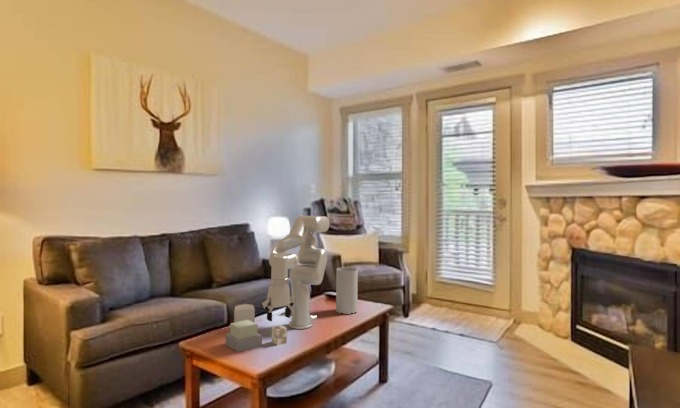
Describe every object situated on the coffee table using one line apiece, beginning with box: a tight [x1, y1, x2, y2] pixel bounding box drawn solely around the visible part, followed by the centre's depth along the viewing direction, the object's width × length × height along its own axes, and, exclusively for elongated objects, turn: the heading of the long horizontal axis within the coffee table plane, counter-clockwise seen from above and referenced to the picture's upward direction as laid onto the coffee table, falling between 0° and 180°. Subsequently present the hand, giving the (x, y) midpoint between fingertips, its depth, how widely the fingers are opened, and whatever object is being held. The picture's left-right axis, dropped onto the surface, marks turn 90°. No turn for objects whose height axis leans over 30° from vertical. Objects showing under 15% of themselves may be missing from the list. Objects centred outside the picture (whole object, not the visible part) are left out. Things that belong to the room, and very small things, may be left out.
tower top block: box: [229, 320, 258, 340], centre depth 190 cm, size 9×9×5 cm
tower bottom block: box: [225, 332, 263, 353], centre depth 190 cm, size 12×12×5 cm
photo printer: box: [233, 303, 256, 323], centre depth 213 cm, size 10×4×12 cm, turn 104°
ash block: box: [271, 325, 288, 346], centre depth 193 cm, size 5×5×7 cm
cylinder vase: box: [335, 266, 359, 315], centre depth 245 cm, size 12×12×25 cm
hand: (278, 318), depth 192 cm, fingers open, 9 cm apart
